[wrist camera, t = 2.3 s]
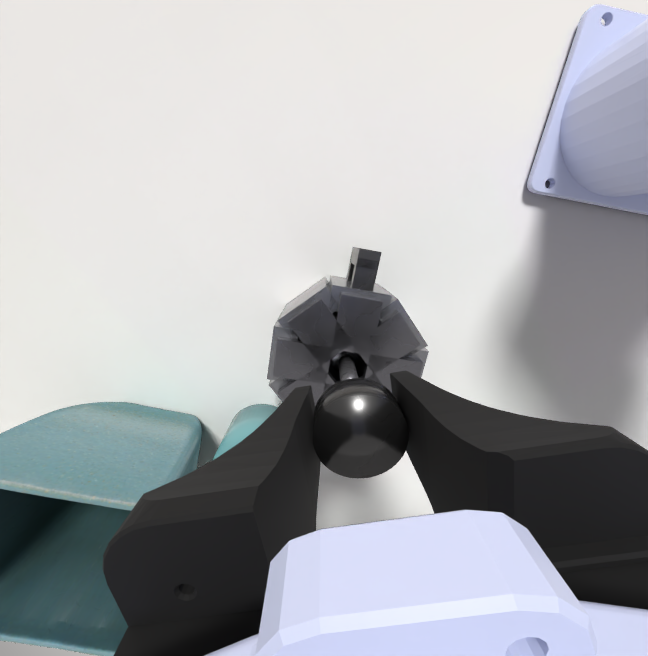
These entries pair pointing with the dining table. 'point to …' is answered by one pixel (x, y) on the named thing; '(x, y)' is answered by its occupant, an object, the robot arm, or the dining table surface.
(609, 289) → the dining table surface
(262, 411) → the teal rounded part
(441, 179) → the dining table surface
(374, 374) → the press pot
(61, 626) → the flower pot
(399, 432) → the plunger
